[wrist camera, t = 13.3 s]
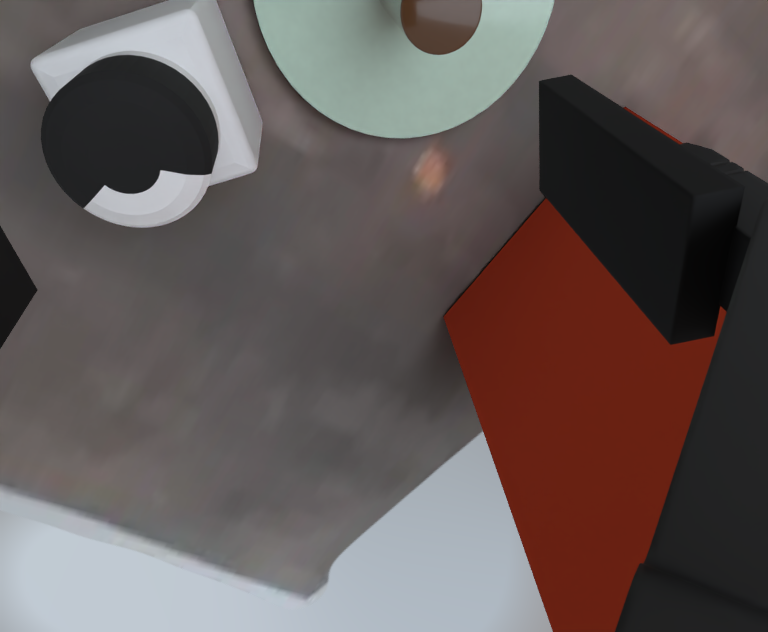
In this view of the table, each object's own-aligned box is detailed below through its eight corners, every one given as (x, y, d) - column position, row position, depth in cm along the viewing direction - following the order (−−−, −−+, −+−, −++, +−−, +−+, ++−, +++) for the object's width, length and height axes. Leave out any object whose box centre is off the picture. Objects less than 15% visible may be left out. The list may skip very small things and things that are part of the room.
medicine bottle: (75, 29, 30) (-29, 94, 20) (211, -15, 30) (172, 29, 20) (144, 162, 34) (85, 269, 24) (265, 125, 34) (254, 218, 24)
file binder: (439, 312, 43) (671, 971, 17) (619, 102, 36) (1508, 666, 10) (521, 357, 46) (823, 965, 20) (701, 173, 39) (1529, 736, 13)
